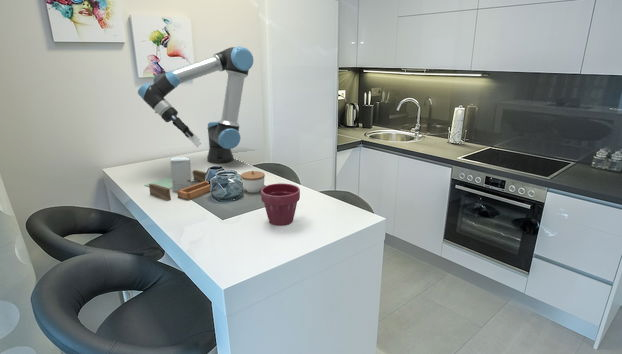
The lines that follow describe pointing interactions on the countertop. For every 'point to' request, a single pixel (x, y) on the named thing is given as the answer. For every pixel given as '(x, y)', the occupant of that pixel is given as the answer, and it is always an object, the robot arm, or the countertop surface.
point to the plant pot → (280, 202)
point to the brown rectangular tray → (194, 191)
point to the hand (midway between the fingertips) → (198, 143)
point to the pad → (163, 183)
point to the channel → (165, 192)
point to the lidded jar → (253, 181)
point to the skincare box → (180, 173)
